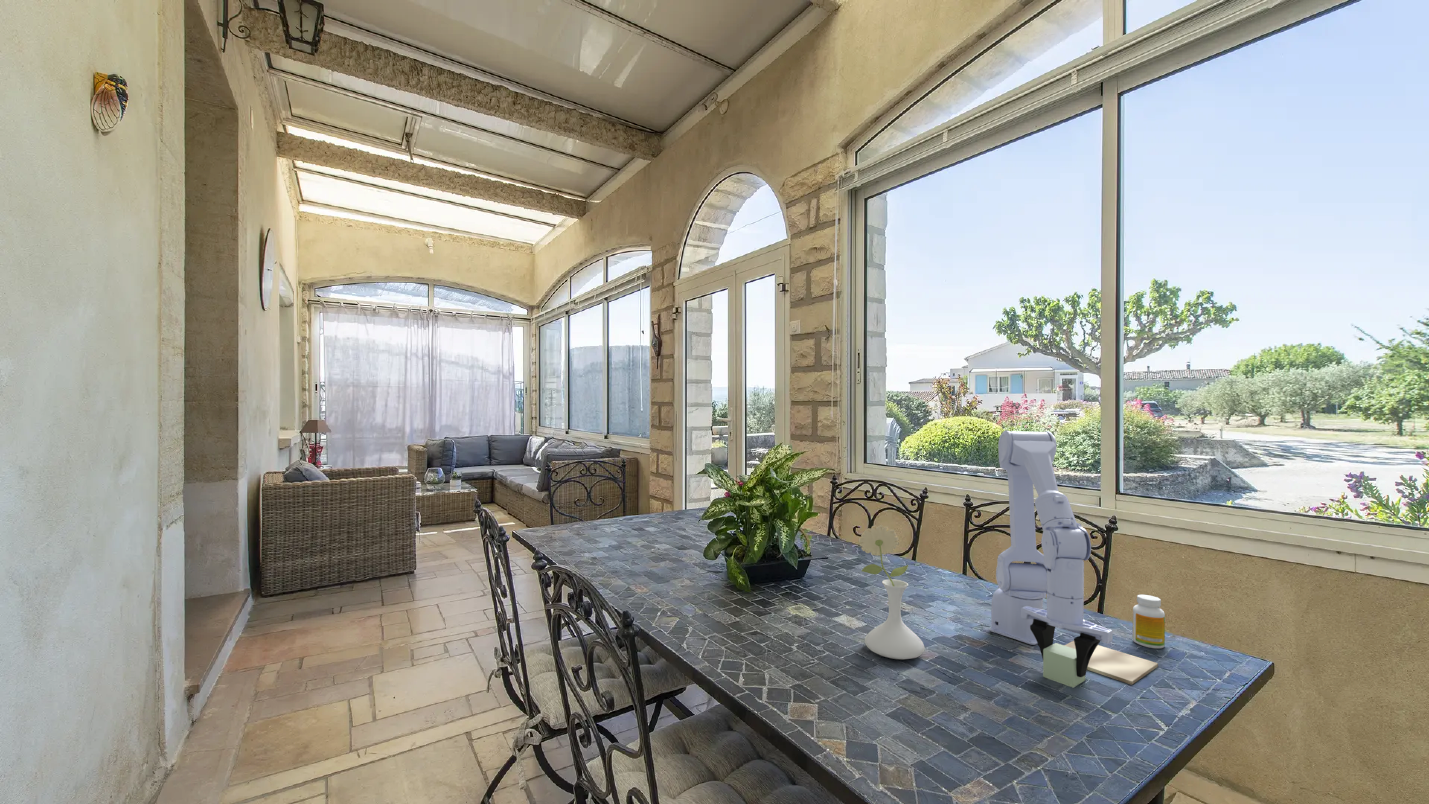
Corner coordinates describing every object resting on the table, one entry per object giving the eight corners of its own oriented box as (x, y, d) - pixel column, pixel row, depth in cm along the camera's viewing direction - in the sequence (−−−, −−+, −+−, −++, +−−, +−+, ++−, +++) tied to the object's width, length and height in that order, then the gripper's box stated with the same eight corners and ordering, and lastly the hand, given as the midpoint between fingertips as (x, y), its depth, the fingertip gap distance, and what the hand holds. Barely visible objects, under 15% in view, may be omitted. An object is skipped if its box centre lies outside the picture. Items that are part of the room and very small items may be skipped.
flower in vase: (927, 647, 117) (928, 524, 117) (921, 670, 106) (923, 535, 107) (861, 635, 122) (863, 518, 122) (850, 656, 112) (852, 527, 112)
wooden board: (1048, 656, 113) (1048, 653, 113) (1077, 641, 121) (1077, 638, 121) (1131, 684, 102) (1131, 681, 102) (1157, 666, 110) (1157, 663, 110)
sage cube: (1043, 676, 104) (1043, 649, 105) (1055, 669, 107) (1055, 642, 107) (1073, 687, 100) (1073, 659, 100) (1085, 680, 103) (1085, 652, 103)
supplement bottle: (1170, 650, 117) (1171, 602, 117) (1140, 647, 118) (1141, 600, 118) (1155, 640, 122) (1156, 594, 123) (1127, 637, 123) (1127, 592, 124)
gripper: (1013, 587, 108) (1012, 660, 107) (1101, 610, 96) (1100, 691, 96) (1031, 581, 112) (1031, 651, 112) (1117, 602, 100) (1117, 680, 100)
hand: (1064, 669), depth 104 cm, fingers closed on sage cube, 5 cm apart
